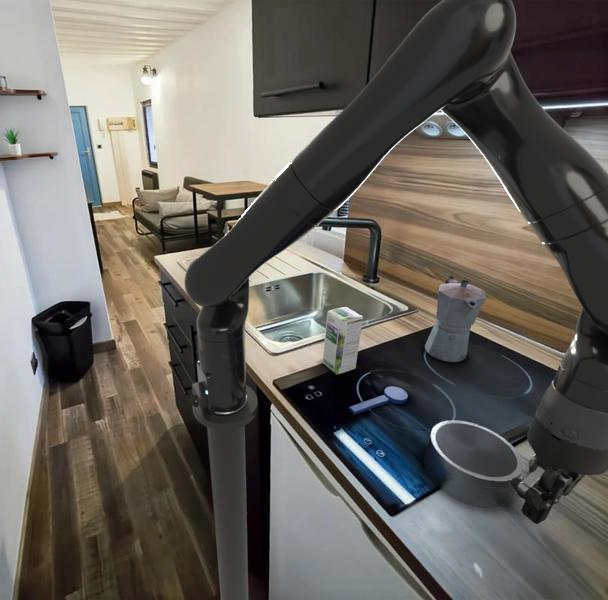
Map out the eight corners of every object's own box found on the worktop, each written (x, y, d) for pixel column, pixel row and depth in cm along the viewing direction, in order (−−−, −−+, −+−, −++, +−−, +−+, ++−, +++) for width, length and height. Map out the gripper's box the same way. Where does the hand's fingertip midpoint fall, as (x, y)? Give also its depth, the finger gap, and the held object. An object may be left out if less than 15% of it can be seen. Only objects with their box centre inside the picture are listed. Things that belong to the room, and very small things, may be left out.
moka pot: (435, 369, 85) (455, 291, 77) (411, 335, 99) (426, 266, 90) (480, 370, 84) (505, 291, 75) (449, 335, 97) (468, 265, 89)
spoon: (359, 419, 72) (359, 415, 72) (344, 405, 76) (344, 401, 76) (411, 400, 76) (412, 396, 76) (395, 387, 80) (396, 384, 80)
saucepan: (474, 520, 53) (485, 492, 50) (407, 458, 63) (413, 432, 61) (558, 476, 59) (572, 449, 56) (483, 426, 69) (492, 401, 66)
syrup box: (321, 362, 90) (325, 310, 84) (340, 356, 92) (346, 305, 86) (336, 375, 85) (342, 321, 79) (356, 368, 87) (364, 315, 81)
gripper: (575, 389, 49) (533, 479, 56) (507, 418, 45) (472, 510, 52) (653, 428, 42) (594, 523, 50) (581, 465, 38) (529, 562, 46)
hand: (531, 516), depth 51 cm, fingers closed
